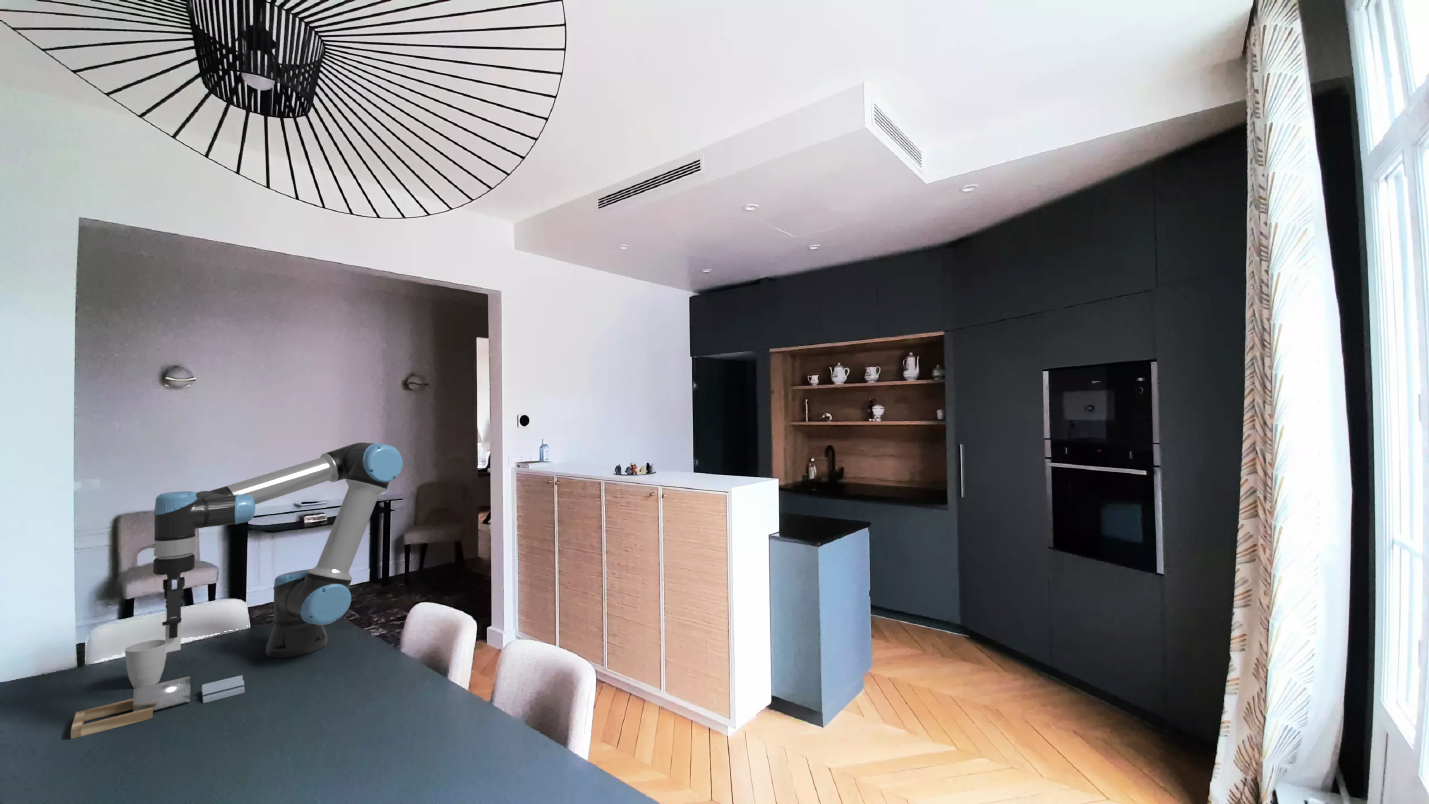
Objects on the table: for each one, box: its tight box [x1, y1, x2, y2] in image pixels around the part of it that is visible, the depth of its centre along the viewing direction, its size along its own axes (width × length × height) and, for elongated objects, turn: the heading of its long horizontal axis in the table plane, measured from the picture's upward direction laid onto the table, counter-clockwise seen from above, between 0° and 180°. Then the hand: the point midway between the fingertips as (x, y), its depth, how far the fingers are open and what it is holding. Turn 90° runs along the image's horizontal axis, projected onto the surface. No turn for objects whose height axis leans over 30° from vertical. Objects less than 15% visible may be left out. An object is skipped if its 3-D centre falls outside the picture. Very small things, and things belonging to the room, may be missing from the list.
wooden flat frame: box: [70, 698, 154, 740], centre depth 137 cm, size 10×13×2 cm
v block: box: [201, 674, 246, 704], centre depth 151 cm, size 8×8×2 cm
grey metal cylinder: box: [132, 675, 191, 712], centre depth 143 cm, size 10×6×6 cm, turn 133°
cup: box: [124, 639, 168, 689], centre depth 155 cm, size 8×8×10 cm
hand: (172, 642), depth 144 cm, fingers open, 13 cm apart
